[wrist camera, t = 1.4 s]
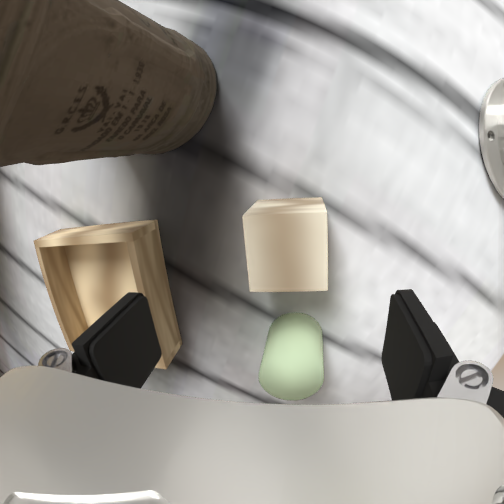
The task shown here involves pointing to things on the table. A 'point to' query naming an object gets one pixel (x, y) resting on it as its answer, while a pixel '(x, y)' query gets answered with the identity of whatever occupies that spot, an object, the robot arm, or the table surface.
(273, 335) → the green cylinder
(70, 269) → the box
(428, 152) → the table surface
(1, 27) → the beer stein
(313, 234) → the cream block
